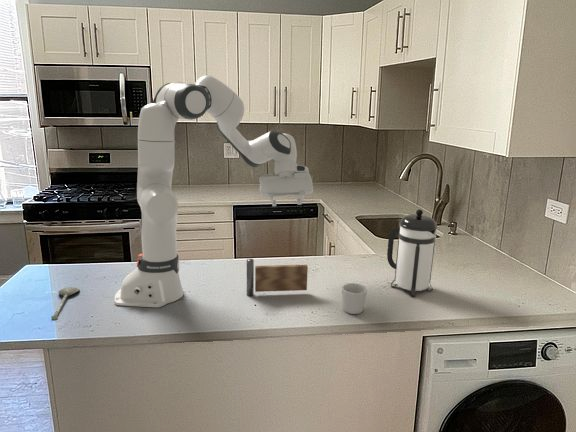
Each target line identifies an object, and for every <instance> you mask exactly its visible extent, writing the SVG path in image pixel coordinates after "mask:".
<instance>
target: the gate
mask: <svg viewBox="0 0 576 432" xmlns="http://www.w3.org/2000/svg"><path fill="white" fill-rule="evenodd" d="M254 266H255V269H254V271H255V272H254V277H255V278H254V286H255V287H254V291H255V293H256V292H257V293H262V292H263V293H264V292H289V291H290V292H291V291H294V292H295V291H307V290H308V270H309V269H308V268H309V267H308V264H281V265H280V264H278V265H276V264H275V265H254Z"/></svg>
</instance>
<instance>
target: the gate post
mask: <svg viewBox="0 0 576 432" xmlns="http://www.w3.org/2000/svg"><path fill="white" fill-rule="evenodd" d="M254 263H255V261H254V259H253V258H247V259H246V296H247V297H254V291H255V287H254V286H255V278H254V277H255V272H254V271H255V269H254V266H255V265H254Z"/></svg>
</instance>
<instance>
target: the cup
mask: <svg viewBox="0 0 576 432" xmlns="http://www.w3.org/2000/svg"><path fill="white" fill-rule="evenodd" d="M367 293H368V289H367V287H366V286H364V285H362V284H359V283H353V282H352V283H350V282H349V283H345V284H343V286H342V287H341V295H342V297H341V298H342V299H341V300H342V309H343V310H344V312H345V313H348V314H350V315H359V314H361V313H363V311H364V309H365V304H366V297H367Z"/></svg>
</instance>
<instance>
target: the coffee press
mask: <svg viewBox="0 0 576 432" xmlns="http://www.w3.org/2000/svg"><path fill="white" fill-rule="evenodd" d="M423 213H424V211H423V210H422V209H417V210H416V212H415V214H408V215H407V214H406V215H405V216H403V217H402V218H401V220H400V221H399V222H398V223H399V224H398V225H399V227H394V228H392V229H391V231H390V232H389V235H388V241H387V254H386V255H387V256H386V260H387V263H388V264H389V266H390V267H391V268H392V269H394V279H393V280H392V282H390V287H391V288H395V287H397V286H399V287H400V288H401V289H404V290H406V291H410V297H412V298H415V297H416V292H419V291H420V292H422V291H425V290H427V291H429V292H432V291H433V290H434V288H433V286H432V284H431V279H432V272H433V271H432V269H433V260H434V253H435V246H436V245H435V244H436V243H435V242H436V238H437V230H438V224H437V222H436V221H435V219H434V218H432V217H431V216H428V215H424V214H423ZM396 234H398V239H397V250H396V259H395V260H396V261H394V259H393V251H394V241H395V240H394V239H395V235H396ZM394 282H395V283H396V284H394ZM393 284H394V285H393ZM429 287H430V288H431V289H430V288H429Z"/></svg>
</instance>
